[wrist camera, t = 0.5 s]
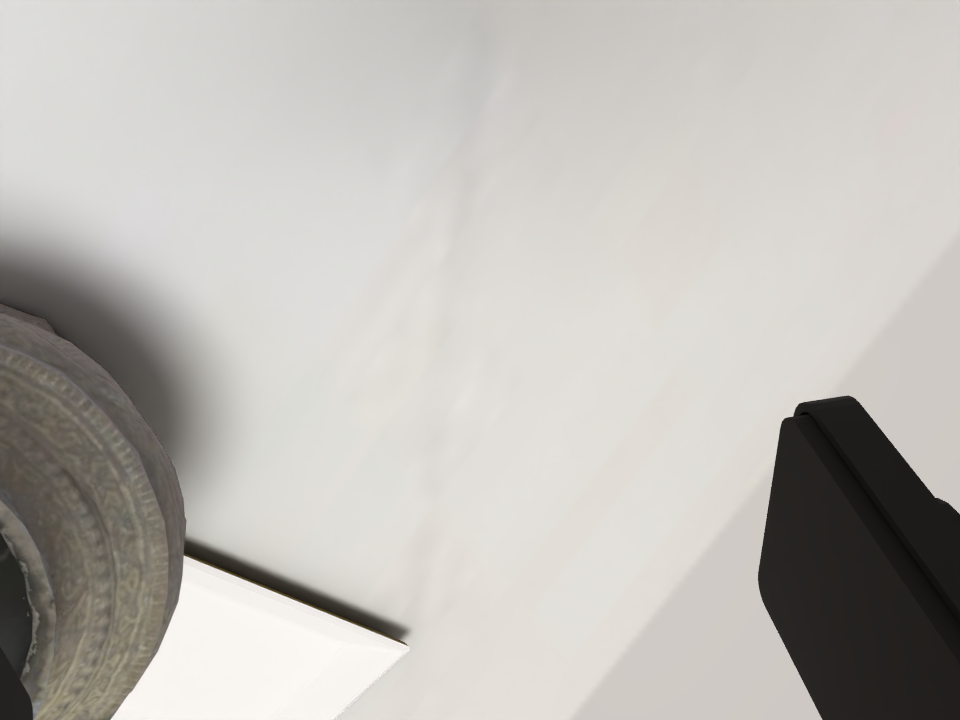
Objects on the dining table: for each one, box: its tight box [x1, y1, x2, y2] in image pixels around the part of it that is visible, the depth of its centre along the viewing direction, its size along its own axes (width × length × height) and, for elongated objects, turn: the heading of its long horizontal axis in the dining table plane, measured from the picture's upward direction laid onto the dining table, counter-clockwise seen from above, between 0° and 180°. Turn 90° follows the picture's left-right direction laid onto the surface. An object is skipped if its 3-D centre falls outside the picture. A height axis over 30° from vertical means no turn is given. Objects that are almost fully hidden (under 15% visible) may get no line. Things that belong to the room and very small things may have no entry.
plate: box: [111, 553, 410, 720], centre depth 59 cm, size 19×19×2 cm
